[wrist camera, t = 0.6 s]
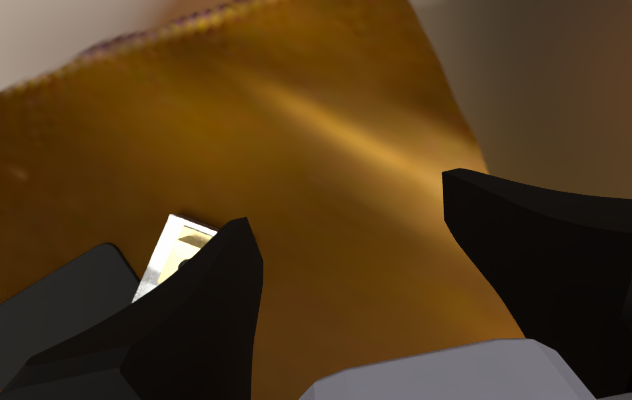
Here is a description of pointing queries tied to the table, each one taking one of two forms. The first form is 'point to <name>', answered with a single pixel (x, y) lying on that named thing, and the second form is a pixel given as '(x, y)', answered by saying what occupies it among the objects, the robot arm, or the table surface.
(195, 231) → the tan block with hole
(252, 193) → the table surface
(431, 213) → the table surface
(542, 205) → the robot arm
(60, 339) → the phone
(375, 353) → the table surface
